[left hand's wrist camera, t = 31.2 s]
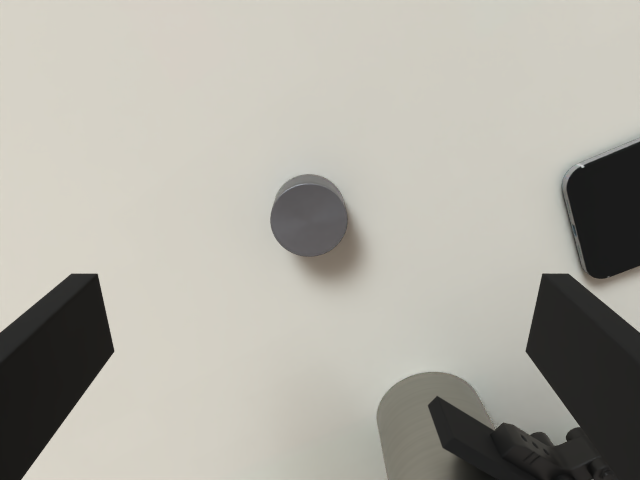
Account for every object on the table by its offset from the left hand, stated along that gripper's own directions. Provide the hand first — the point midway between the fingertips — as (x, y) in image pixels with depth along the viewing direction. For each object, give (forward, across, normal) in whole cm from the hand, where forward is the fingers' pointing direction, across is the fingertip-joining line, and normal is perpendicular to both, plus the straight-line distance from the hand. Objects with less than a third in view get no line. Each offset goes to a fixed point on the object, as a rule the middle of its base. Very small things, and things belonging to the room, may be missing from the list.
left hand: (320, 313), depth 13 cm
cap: (+10, -1, 0) cm, 10 cm away
